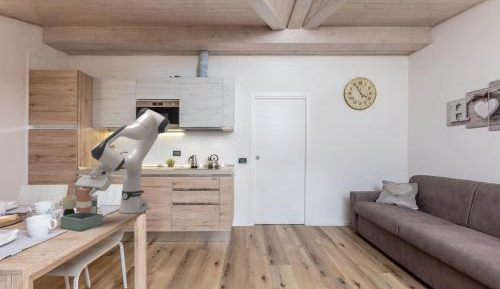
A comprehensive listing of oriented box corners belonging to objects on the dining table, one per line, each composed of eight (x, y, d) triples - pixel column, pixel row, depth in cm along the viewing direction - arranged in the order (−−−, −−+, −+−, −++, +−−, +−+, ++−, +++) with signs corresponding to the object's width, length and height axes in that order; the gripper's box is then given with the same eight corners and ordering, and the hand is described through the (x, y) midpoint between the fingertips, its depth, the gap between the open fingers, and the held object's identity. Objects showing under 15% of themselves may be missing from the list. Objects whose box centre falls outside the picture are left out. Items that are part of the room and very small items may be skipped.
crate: (83, 222, 164) (83, 211, 164) (102, 224, 160) (102, 214, 160) (60, 228, 151) (60, 216, 151) (80, 231, 147) (81, 219, 147)
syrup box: (90, 220, 168) (91, 195, 169) (81, 219, 170) (82, 195, 170) (97, 218, 174) (98, 194, 174) (88, 217, 175) (89, 193, 175)
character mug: (81, 217, 173) (82, 196, 173) (76, 220, 166) (77, 198, 166) (61, 217, 172) (63, 196, 172) (55, 220, 165) (56, 198, 165)
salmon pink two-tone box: (83, 209, 159) (84, 188, 159) (91, 210, 157) (92, 188, 157) (75, 211, 154) (76, 189, 154) (83, 212, 152) (84, 190, 152)
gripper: (82, 170, 166) (66, 189, 156) (110, 173, 160) (95, 192, 150) (88, 177, 170) (72, 196, 161) (116, 180, 164) (102, 200, 155)
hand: (84, 194), depth 155 cm, fingers closed on salmon pink two-tone box, 5 cm apart
